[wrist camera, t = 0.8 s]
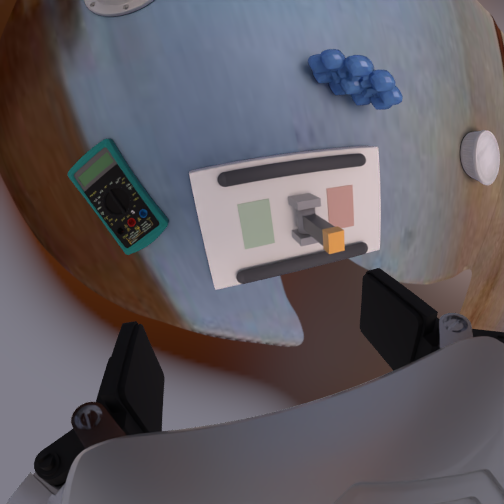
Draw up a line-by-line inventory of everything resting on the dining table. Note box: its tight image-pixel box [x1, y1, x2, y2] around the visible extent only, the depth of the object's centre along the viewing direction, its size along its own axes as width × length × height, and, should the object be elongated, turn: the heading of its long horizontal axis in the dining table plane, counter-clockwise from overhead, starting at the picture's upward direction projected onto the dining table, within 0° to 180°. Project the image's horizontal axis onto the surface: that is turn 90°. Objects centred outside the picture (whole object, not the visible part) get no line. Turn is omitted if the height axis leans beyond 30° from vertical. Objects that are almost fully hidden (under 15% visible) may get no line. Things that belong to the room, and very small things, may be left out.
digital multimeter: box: [68, 139, 169, 255], centre depth 33 cm, size 7×15×3 cm, turn 32°
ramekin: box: [460, 130, 500, 185], centre depth 40 cm, size 11×11×5 cm
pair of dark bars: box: [217, 153, 368, 284], centre depth 36 cm, size 15×20×2 cm
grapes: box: [308, 49, 402, 109], centre depth 28 cm, size 12×7×12 cm, turn 63°
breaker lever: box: [296, 208, 345, 254], centre depth 32 cm, size 3×2×10 cm
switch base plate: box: [189, 146, 381, 290], centre depth 36 cm, size 16×26×6 cm, turn 99°
